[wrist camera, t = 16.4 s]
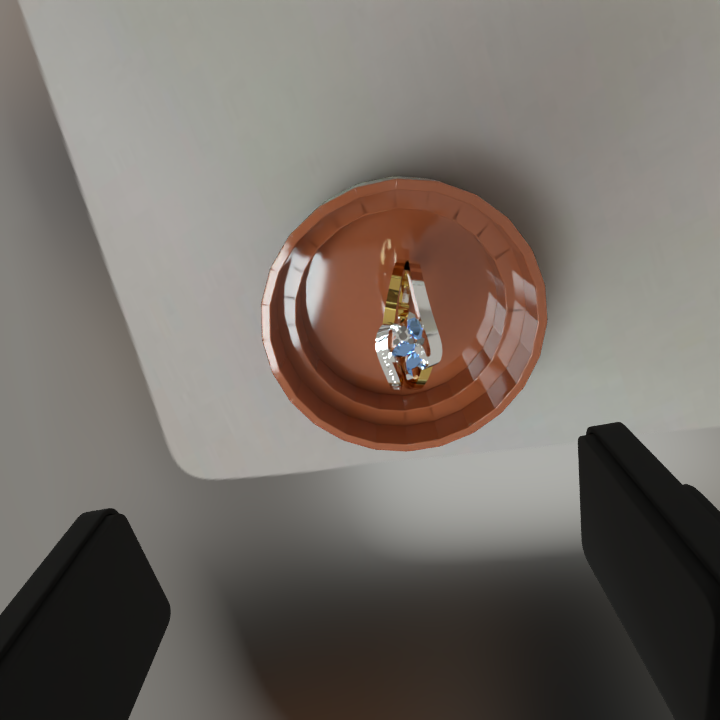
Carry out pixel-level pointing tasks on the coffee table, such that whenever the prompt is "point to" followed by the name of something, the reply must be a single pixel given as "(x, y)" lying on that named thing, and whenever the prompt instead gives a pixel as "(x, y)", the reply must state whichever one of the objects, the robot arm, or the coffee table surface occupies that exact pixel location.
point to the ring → (407, 330)
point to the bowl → (447, 301)
